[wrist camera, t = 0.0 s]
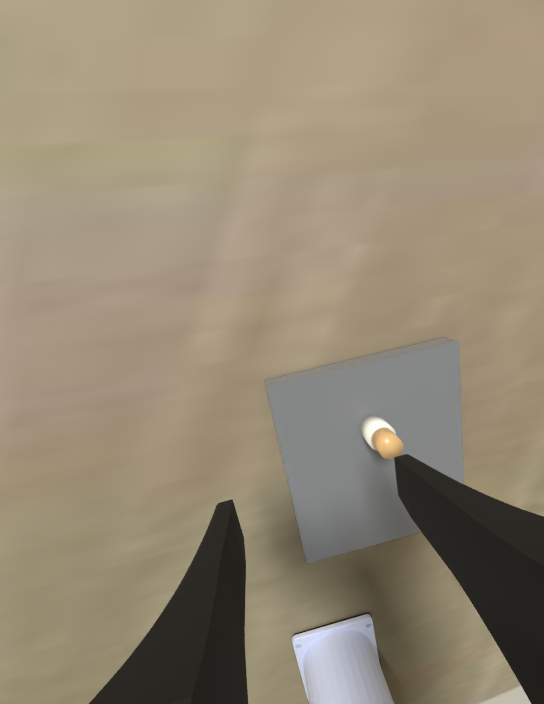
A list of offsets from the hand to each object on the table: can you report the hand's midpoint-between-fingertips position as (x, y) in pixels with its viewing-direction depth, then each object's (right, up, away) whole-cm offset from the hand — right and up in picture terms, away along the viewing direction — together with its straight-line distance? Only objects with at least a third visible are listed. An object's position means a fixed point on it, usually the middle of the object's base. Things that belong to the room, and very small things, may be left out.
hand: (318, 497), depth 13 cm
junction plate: (+6, -2, +11) cm, 13 cm away
